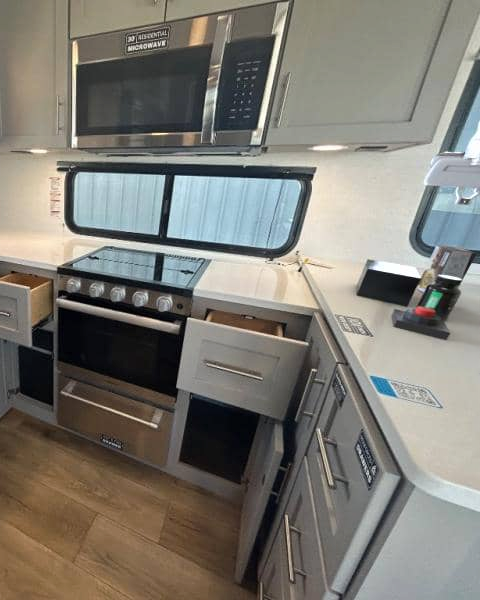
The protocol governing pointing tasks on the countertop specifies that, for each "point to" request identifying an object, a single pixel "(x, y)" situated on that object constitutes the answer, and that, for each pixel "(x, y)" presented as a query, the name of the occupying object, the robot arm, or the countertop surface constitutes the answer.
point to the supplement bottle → (441, 295)
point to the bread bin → (386, 287)
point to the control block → (420, 323)
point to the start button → (424, 311)
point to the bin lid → (393, 269)
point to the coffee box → (446, 264)
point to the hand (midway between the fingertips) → (462, 204)
